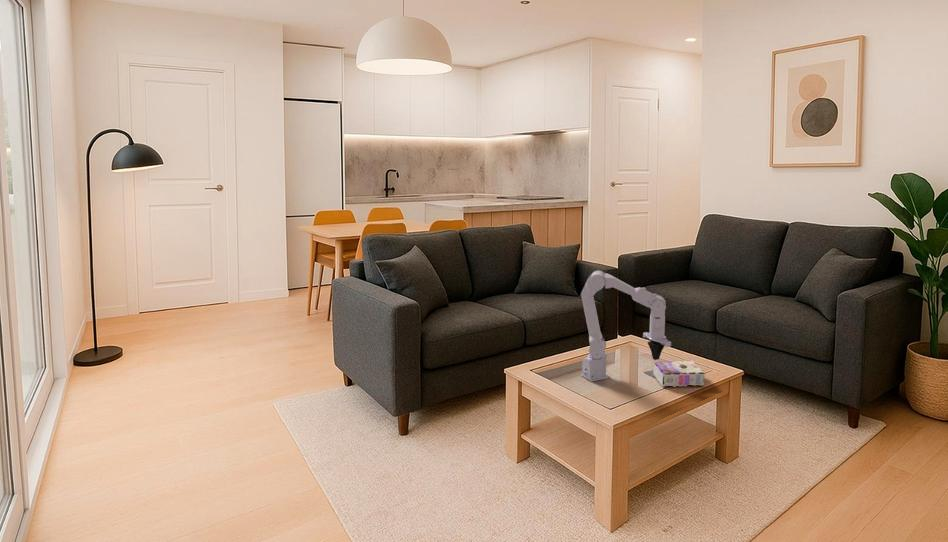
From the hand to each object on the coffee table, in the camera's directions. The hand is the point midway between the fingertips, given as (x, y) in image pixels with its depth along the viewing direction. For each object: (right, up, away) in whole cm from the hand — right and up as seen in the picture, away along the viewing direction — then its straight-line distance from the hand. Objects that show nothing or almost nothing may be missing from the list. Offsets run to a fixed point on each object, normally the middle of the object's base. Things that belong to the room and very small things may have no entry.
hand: (655, 359), depth 242 cm
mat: (+9, -8, +6) cm, 14 cm away
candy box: (+1, -6, +1) cm, 6 cm away
